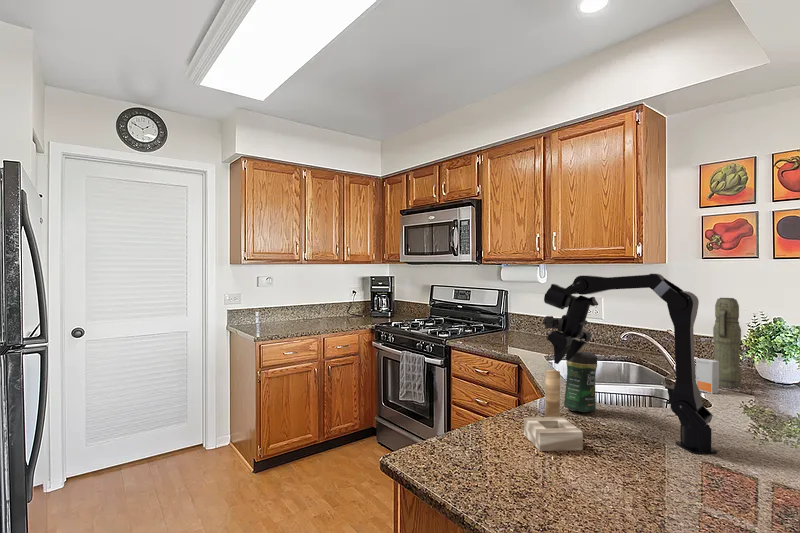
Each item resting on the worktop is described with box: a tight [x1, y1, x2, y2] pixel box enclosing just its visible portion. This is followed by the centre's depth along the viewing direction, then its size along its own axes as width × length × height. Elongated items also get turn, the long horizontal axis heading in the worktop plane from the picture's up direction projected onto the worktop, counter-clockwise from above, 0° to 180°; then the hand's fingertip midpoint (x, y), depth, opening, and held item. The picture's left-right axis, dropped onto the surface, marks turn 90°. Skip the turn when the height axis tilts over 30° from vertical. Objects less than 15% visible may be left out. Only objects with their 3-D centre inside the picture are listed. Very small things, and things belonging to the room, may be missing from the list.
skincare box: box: [695, 358, 720, 395], centre depth 161 cm, size 6×4×12 cm
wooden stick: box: [544, 369, 561, 417], centre depth 122 cm, size 4×4×16 cm
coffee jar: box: [563, 350, 598, 413], centre depth 138 cm, size 10×8×19 cm
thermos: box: [712, 297, 742, 389], centre depth 171 cm, size 9×12×35 cm
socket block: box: [523, 416, 584, 452], centre depth 112 cm, size 11×11×4 cm
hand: (561, 361), depth 133 cm, fingers open, 8 cm apart
